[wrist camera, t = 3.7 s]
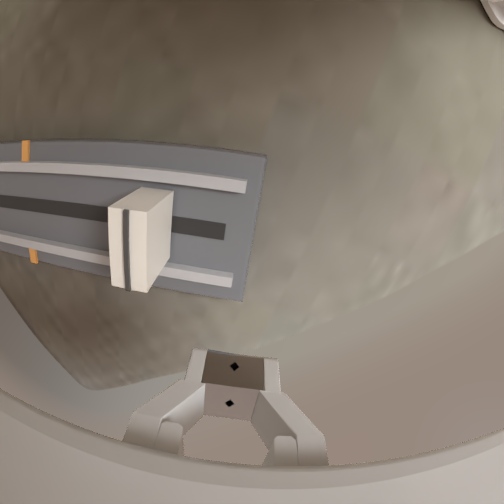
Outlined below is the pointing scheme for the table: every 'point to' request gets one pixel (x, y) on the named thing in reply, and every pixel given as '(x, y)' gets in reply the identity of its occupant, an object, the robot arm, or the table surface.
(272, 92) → the table surface
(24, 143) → the pair of orange ticks
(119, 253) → the fader tab
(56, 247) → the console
